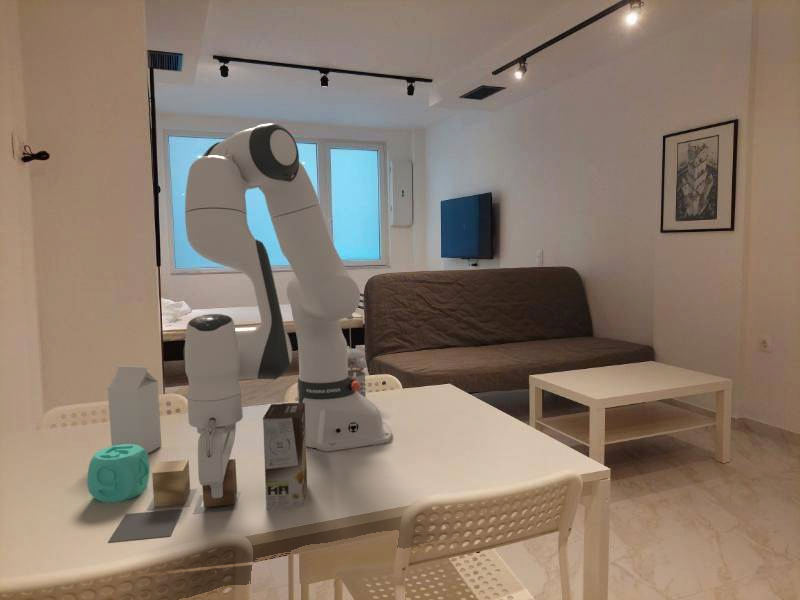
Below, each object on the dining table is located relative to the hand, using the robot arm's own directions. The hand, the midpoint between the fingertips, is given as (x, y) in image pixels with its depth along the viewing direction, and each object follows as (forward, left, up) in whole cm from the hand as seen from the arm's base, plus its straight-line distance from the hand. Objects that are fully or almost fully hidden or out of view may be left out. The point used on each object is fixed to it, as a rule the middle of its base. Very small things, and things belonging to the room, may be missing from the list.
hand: (220, 487), depth 98 cm
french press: (-28, -59, -3) cm, 66 cm away
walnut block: (0, 0, -2) cm, 2 cm away
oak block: (+9, -3, -3) cm, 10 cm away
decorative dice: (+19, -8, -3) cm, 20 cm away
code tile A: (+1, 0, -3) cm, 3 cm away
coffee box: (-11, 0, -3) cm, 12 cm away
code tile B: (+9, -3, -3) cm, 10 cm away
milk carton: (+22, -30, -3) cm, 37 cm away
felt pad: (+11, +6, -3) cm, 12 cm away
